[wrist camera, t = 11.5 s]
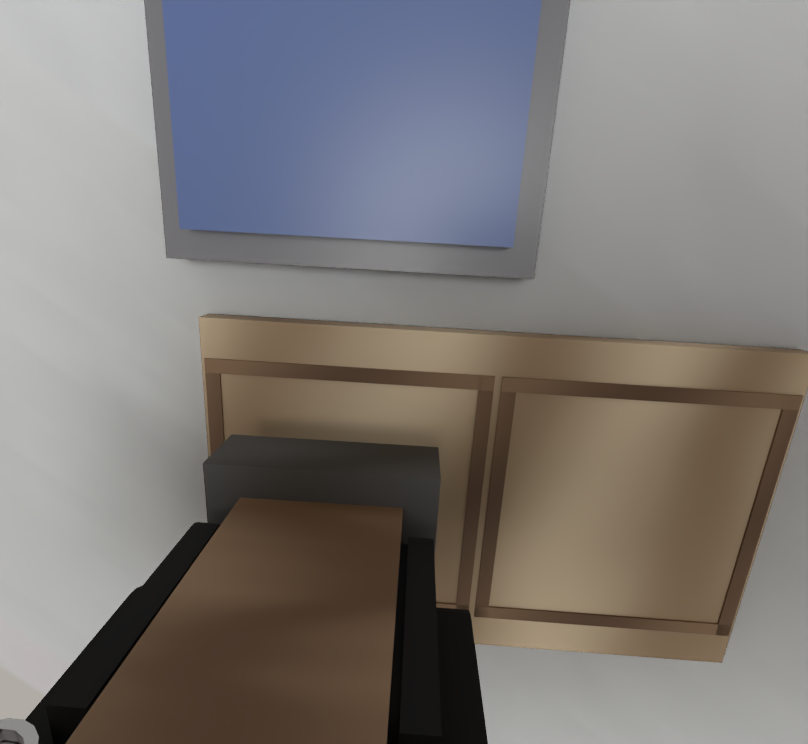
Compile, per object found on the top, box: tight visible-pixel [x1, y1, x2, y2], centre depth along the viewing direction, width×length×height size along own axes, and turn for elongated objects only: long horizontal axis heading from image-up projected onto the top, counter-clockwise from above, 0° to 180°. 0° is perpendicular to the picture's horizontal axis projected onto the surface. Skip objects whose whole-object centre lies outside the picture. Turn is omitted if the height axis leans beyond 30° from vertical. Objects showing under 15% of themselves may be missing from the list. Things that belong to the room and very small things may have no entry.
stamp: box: [65, 434, 441, 744], centre depth 8 cm, size 5×5×7 cm
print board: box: [199, 314, 808, 663], centre depth 13 cm, size 16×10×1 cm, turn 87°
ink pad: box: [144, 0, 570, 279], centre depth 10 cm, size 9×9×2 cm
